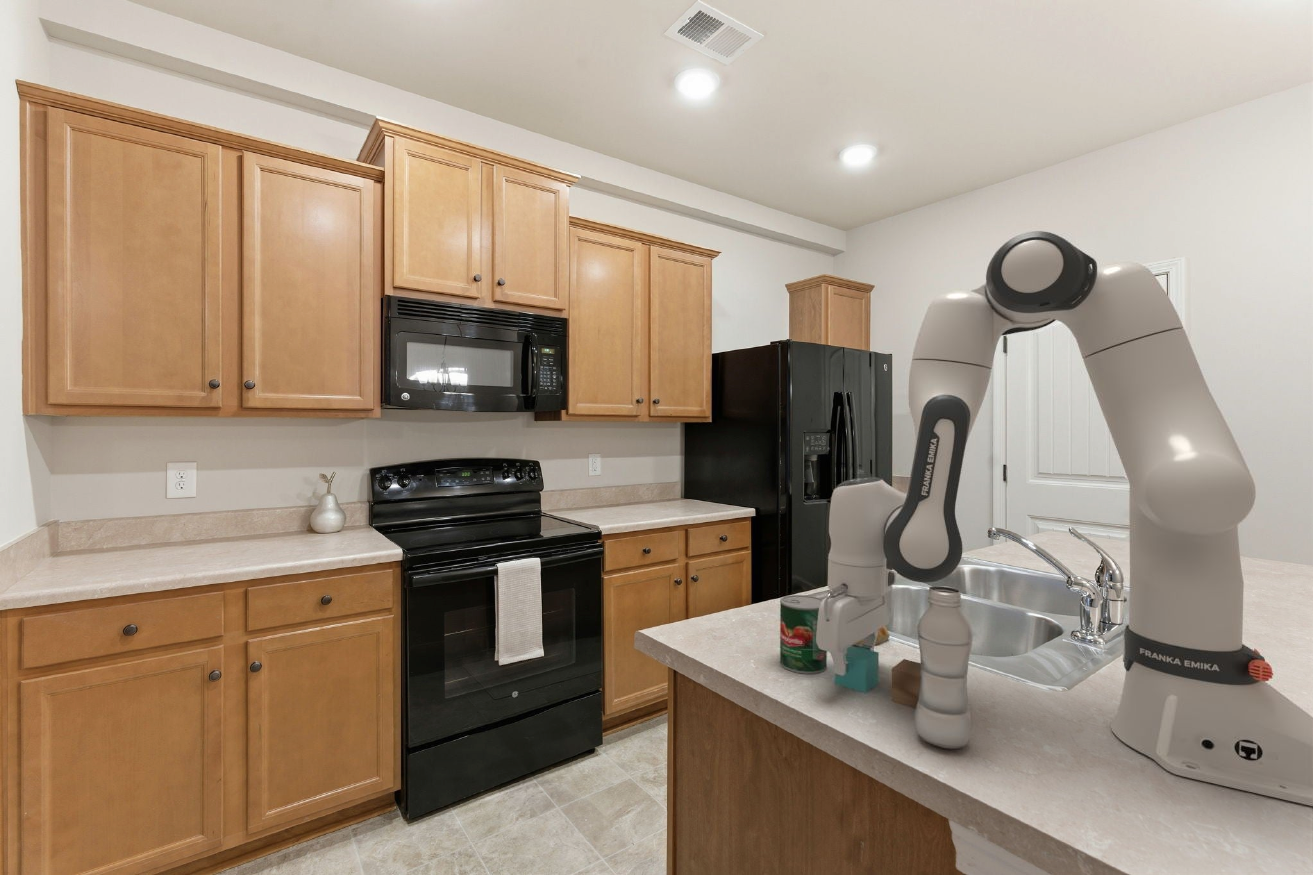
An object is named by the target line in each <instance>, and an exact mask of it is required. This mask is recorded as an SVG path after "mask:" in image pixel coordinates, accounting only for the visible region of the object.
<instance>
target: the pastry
mask: <svg viewBox="0 0 1313 875" xmlns="http://www.w3.org/2000/svg"><path fill="white" fill-rule="evenodd" d="M890 636H891V635H890V633H889V631H888V628H887V627H886V625H885V626H884V627H882V628H880V629H879V630H878V636H877V639H876V642H875V646H876V645H880V644H883V643H885V642H886V641H888V639H890ZM862 641H863V639H862V640H860V641H859V642H857V643H855V644H854V645H853V646H855V647H859V648H860V645H862Z"/></svg>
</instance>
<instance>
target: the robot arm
mask: <svg viewBox="0 0 1313 875" xmlns="http://www.w3.org/2000/svg"><path fill="white" fill-rule="evenodd" d="M985 280H986V281H985V283H984V284H982V285H981V286H979V287H978V288H975V289H971V290H964V289H960V290H953V291H952V290H951V291H948V292H945V293H942V294H940V295H938V296H937V297H935V298H934V299H933V300H932V301H931V303H929V306H928V307H927V309H926V312H925V314H924V317H923V319H922V320H923V321H922V322H921V326H920V328H919V331H918V335H917V337H916V340H915V345H914V349H913V352H912V358H911V362H910V363H911V364H910V369H909V377H908V407H909V410H910V414H911V417H912V420H913V421H912V422H913V425H914V432H915V433H914V434H915V443H914V444H915V445H914V452H913V460H912V464H911V470H910V474H909V480H908V481H909V482H908V486H907V492H906V494H905V493H904V492H902V491H899V490H898V489H896V488H894V487H893V486H890V485H889V484H888V483H886V482H885V481H884V479H883V478H879V477H874V476H870V477H859V478H852V479H848V480H845V481H843V482H841V483H839V484H837V486H836V487H835V488H834V489H833V492H832V494H831V498H830V505H829V506H830V507H829V517H828V518H829V519H828V534H829V537H830V550H829V553H828V557H827V559H828V560H827V563H828V564H827V588H828V589H829V590H828V591H827V592H828V593H827V596H826V597H825V598H823V600H822V602H821V604H820V607H819V612H818V621H817V633H816V643H817V645H818V647H819V649H822V650H825V651H827V653H828V652H829V653H830V656H831V657H832V658H831V659H832V661H833V671H834V674H835V673H836V674H839V675H842V676H843V675H845V674H846V673H848V672H849V662H846V657H845V654H847V648H849V647H850V646H855V645H854V644H855V643H857V642H859V641H860V640H862V639H863V641H862V645H860V647H859V648H863V649H867V650H871V651H875V646H876V645H875V642H876V639H877V636H878V630H879V629H880V628H882V627H884V626H885V627H886V626H887V625H888V624H889V622H890V619H891V616H892V612H893V611H892V608H893V597H894V596H893V595H894V590H893V586H894V585H895V584H896V581H897V580H896V579H897V574H898V575H899V576H901V577H903V578H904V579H907V580H910V581H913V582H918V583H935V582H939V581H941V580H942V579H945V578H947V577H949V576H950V575H951V574H952V573H953V572H954V571H955V570H956V568H958V566H959V564H960V562H961V559H962V557H963V549H964V548H963V541H962V537H961V533H960V530H959V527H958V526H959V525H958V523H957V518H956V505H957V504H956V503H957V498H958V490H959V485H960V479H961V473H962V468H963V462H964V456H965V452H966V446H967V443H968V439H969V437H970V435H971V432H972V429H973V427H974V425H975V421H976V419H977V417H978V414H979V412H980V410H981V408H982V405H983V402H984V399H985V396H986V393H987V391H988V386H989V383H990V379H991V375H992V374H991V373H992V369H993V365H994V359H995V354H996V353H995V352H996V350H997V346H998V343H999V341H1000V339H1001V337H1002V336H1007V335H1012V334H1018V333H1022V332H1023V333H1024V332H1031V331H1035V330H1039V329H1042V328H1044V327H1047V326H1050V325H1051V324H1052V323H1054V322H1055V321H1058V322H1060V323H1062V324H1064V325H1065V326H1066V327H1067V328H1068V329H1069V331H1070V332H1071V333H1072V334H1071V335H1073V337H1074V338H1075V340H1076V343H1077V346H1078V348H1079V352H1080V355H1081V359H1083V360H1082V362H1083V363H1084V367H1085V369H1086V372H1087V374H1088V377H1089V379H1090V382H1091V385H1092V388H1093V390H1094V393H1095V396H1096V398H1097V402H1098V404H1099V407H1100V410H1101V411H1102V412H1101V413H1102V414H1103V417H1104V419H1105V422H1106V425H1107V428H1108V429H1109V433H1110V435H1111V437H1112V441H1113V442H1114V445H1115V448H1116V451H1117V453H1118V456H1119V459H1120V461H1121V464H1122V467H1123V469H1124V472H1125V475H1126V477H1127V480H1128V482H1129V498H1128V499H1129V502H1128V503H1129V504H1128V505H1129V507H1128V508H1129V509H1128V510H1129V589H1128V590H1129V592H1128V593H1129V596H1128V597H1129V598H1128V599H1129V600H1128V624H1127V625H1126V626H1125V628H1124V633H1123V636H1122V662H1123V667H1124V669H1125V675H1124V682H1123V686H1122V693H1121V696H1120V701H1119V705H1118V707H1117V711H1116V713H1115V715H1114V719H1113V721H1112V722H1111V725H1110V726H1111V730H1112V732H1113V733H1114V735H1115V736H1116V737H1117V738H1118V739H1119V740H1120V741H1122V742H1123V743H1124V744H1125V745H1127V746H1128V747H1131V748H1132V749H1134V750H1136V751H1138V752H1140V753H1141V754H1143V755H1145V756H1147V757H1149V758H1151V759H1152V760H1154V761H1155V762H1156V763H1157V764H1158V765H1159V766H1161V767H1162V768H1163V769H1165V770H1166V771H1168V772H1169V773H1171V774H1174V775H1177V776H1181V777H1185V778H1189V779H1193V780H1197V781H1200V782H1201V781H1202V782H1206V783H1210V784H1211V783H1212V784H1214V785H1219V786H1224V787H1227V788H1232V789H1237V790H1242V791H1246V792H1249V793H1250V792H1251V793H1254V794H1258V795H1263V796H1267V797H1271V798H1275V799H1281V800H1285V801H1289V802H1293V803H1298V804H1301V805H1307V806H1311V807H1313V716H1312V715H1311V714H1309V713H1308V712H1307V711H1305V710H1304V709H1303V708H1301V707H1300V706H1298V704H1296V703H1295V702H1293V701H1292V700H1290V699H1289V698H1288V697H1286V695H1284V694H1282V693H1281V692H1280V691H1279V690H1277V689H1276V688H1274V687H1273V686H1272V685H1271V684H1269V683H1268V681H1270V679H1273V676H1274V673H1273V672H1274V671H1273V669H1272V666H1271V665H1270V664H1269V663H1268V662H1267V661H1266V659H1265V657H1264V656H1263V655H1261V653H1260V652H1259V651H1258V650H1257V649H1256V648H1254V649H1252V648H1251V647H1248V646H1247V645H1245V644H1243V627H1244V626H1243V619H1244V586H1245V585H1244V583H1245V582H1244V577H1243V571H1242V563H1241V561H1242V560H1241V555H1240V554H1241V553H1240V540H1239V529H1238V525H1239V524H1240V523H1242V522H1243V520H1245V519H1246V518H1247V517H1248V516H1249V514H1250V513H1251V511H1252V510H1253V508H1254V506H1255V502H1256V501H1255V500H1256V495H1257V493H1256V491H1257V490H1256V485H1255V481H1254V478H1253V477H1252V474H1251V472H1250V471H1251V470H1250V469H1249V467H1248V465H1247V463H1246V461H1245V459H1244V457H1243V454H1242V452H1241V450H1240V447H1239V445H1238V444H1237V442H1236V440H1235V437H1234V435H1233V434H1232V432H1231V429H1230V427H1229V425H1228V423H1227V421H1226V420H1225V417H1224V415H1223V414H1222V412H1221V409H1220V408H1219V406H1218V404H1217V402H1216V401H1215V398H1214V397H1213V395H1212V393H1211V391H1210V389H1209V387H1208V384H1207V382H1206V380H1205V377H1204V375H1203V372H1202V370H1201V368H1200V364H1199V362H1198V360H1197V357H1196V354H1195V353H1194V350H1193V347H1192V344H1191V343H1190V340H1189V338H1188V336H1187V335H1188V334H1187V333H1186V330H1185V328H1184V326H1183V323H1182V321H1181V319H1180V317H1179V314H1178V312H1177V311H1176V308H1175V306H1174V304H1173V302H1172V301H1171V299H1170V297H1169V296H1168V294H1167V292H1166V291H1165V289H1164V288H1163V286H1162V285H1161V283H1160V282H1159V280H1158V279H1157V277H1156V276H1155V275H1154V273H1153V271H1151V270H1150V269H1149V268H1148V267H1146V266H1145V265H1143V264H1141V263H1137V262H1136V263H1135V262H1129V261H1128V262H1116V263H1110V264H1108V265H1103V266H1101V267H1098V264H1097V261H1096V259H1095V258H1093V257H1092V256H1090V255H1088V254H1087V253H1085V252H1084V251H1082V250H1081V249H1080V248H1077V247H1076V246H1075V245H1073V244H1072V243H1071V242H1070V241H1069V240H1067V239H1065V238H1064V237H1062V236H1059V235H1058V234H1055V233H1054V232H1053V233H1052V232H1049V231H1043V230H1042V231H1041V230H1036V231H1029V232H1028V231H1027V232H1025V233H1020V234H1018V235H1015V237H1012V238H1011V239H1008V241H1006V242H1005V243H1003V245H1002V246H1001V247H999V248H998V249H997V251H995V253H994V255H993V256H992V257H991V260H990V261H989V263H988V265H987V270H986V274H985ZM887 563H888V565H889V566H890V567H891V569H889V568H887ZM892 569H893V570H892Z"/></svg>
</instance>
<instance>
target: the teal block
mask: <svg viewBox="0 0 1313 875" xmlns="http://www.w3.org/2000/svg"><path fill="white" fill-rule="evenodd" d="M845 657H846V662H849V672H848V673H846V674H845V675H843V676H842V675H839V674H836V673H835V672H834V685H837V686H840V687H843V688H848V689H851V690H854V691H857V692H859V693H860V692H861V693H863V694H866V693H867V692H869V691H870V690H872V689H873V688H874V687H875V686H876V685H878V684H879V664H880V663H879V658H880V657H879V652H878V651H875V650H874V651H871V650H867V649H863V648H860V647H859V646H855V645H852V646H850V647H849V648H847V654H845Z"/></svg>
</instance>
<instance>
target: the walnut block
mask: <svg viewBox="0 0 1313 875" xmlns="http://www.w3.org/2000/svg"><path fill="white" fill-rule="evenodd" d="M920 681H921V662H917V661H913V660H910V659H905V658H904V659H902V660H901V661H900V662H898V663H897V664H896V665H894V666H893V667H892V668H891V689H890V690H891V693H890V694H891V695H890V696H891V698H890V699H891V702H893V703H897V704H900V705H902V706H907V707H909V708H913V709H916V706H917V702H918V699H919V690H920Z"/></svg>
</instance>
